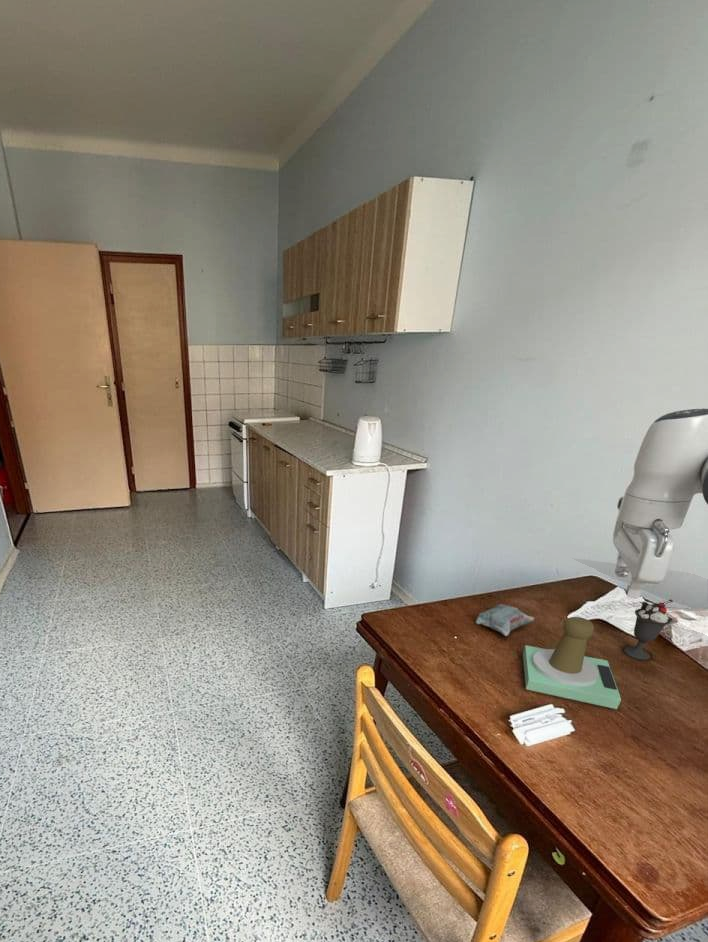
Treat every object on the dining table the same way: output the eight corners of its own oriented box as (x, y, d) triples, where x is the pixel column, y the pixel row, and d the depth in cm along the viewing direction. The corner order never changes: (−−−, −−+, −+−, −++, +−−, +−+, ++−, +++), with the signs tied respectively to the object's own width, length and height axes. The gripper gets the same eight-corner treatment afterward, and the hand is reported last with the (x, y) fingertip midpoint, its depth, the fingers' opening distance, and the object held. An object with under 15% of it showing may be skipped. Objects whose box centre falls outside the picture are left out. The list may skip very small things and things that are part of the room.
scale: (603, 669, 104) (609, 656, 102) (617, 709, 92) (623, 695, 91) (522, 654, 109) (526, 641, 108) (525, 689, 98) (529, 675, 97)
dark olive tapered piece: (588, 671, 97) (606, 626, 92) (562, 675, 97) (578, 629, 91) (567, 655, 103) (582, 611, 97) (542, 658, 102) (556, 614, 97)
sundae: (656, 665, 105) (683, 606, 98) (619, 656, 108) (643, 598, 101) (654, 651, 109) (679, 593, 102) (619, 642, 113) (641, 586, 106)
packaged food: (531, 627, 119) (536, 610, 117) (504, 642, 114) (508, 624, 112) (499, 614, 126) (503, 597, 124) (472, 627, 120) (476, 610, 118)
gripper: (695, 533, 70) (663, 614, 76) (658, 498, 87) (634, 567, 93) (644, 529, 73) (616, 608, 79) (617, 495, 89) (596, 563, 95)
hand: (625, 585), depth 86 cm, fingers open, 8 cm apart
